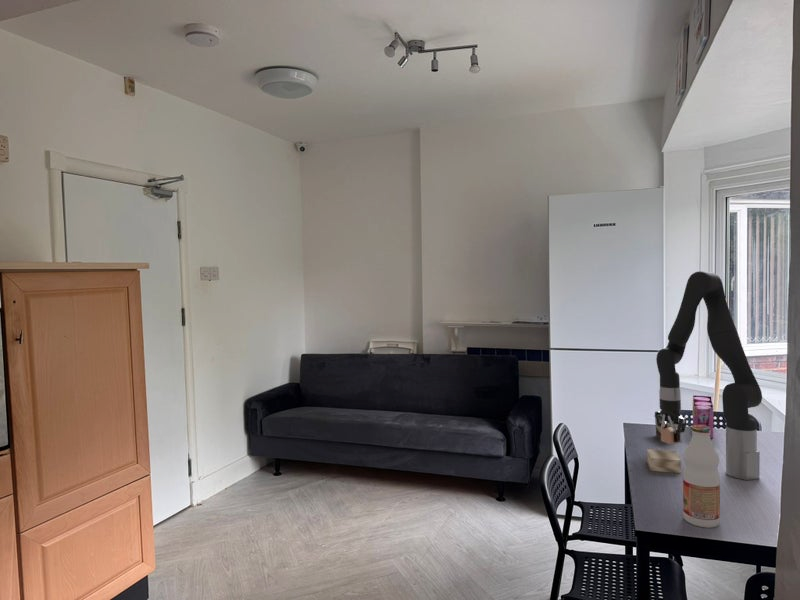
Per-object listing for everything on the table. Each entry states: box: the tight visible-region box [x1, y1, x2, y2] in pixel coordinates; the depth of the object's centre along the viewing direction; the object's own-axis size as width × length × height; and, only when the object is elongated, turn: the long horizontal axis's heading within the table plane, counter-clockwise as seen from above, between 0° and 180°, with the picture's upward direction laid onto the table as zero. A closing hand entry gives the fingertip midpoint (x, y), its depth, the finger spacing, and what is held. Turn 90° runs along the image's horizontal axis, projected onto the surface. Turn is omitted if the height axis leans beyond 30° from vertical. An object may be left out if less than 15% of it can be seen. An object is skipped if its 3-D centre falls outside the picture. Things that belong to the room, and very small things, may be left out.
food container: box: [653, 414, 676, 439], centre depth 230 cm, size 12×6×10 cm, turn 179°
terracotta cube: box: [660, 427, 682, 445], centre depth 210 cm, size 5×5×5 cm
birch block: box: [646, 448, 682, 474], centre depth 198 cm, size 10×10×5 cm
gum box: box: [692, 394, 714, 439], centre depth 239 cm, size 24×8×14 cm, turn 151°
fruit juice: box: [682, 424, 721, 529], centre depth 154 cm, size 9×9×28 cm
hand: (670, 440), depth 210 cm, fingers closed on terracotta cube, 5 cm apart
